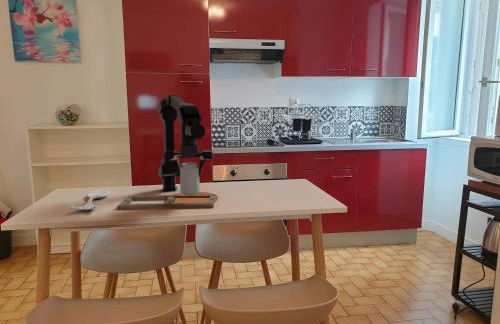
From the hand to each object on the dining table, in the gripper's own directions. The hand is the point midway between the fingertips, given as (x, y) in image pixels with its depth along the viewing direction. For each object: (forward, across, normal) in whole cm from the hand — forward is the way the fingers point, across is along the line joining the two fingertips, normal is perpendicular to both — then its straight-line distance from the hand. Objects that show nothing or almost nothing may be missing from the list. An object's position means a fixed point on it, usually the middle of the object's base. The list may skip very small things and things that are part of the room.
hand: (189, 176), depth 154 cm
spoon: (+12, -39, +2) cm, 41 cm away
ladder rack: (+11, -8, 0) cm, 14 cm away
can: (+7, 0, 0) cm, 7 cm away
